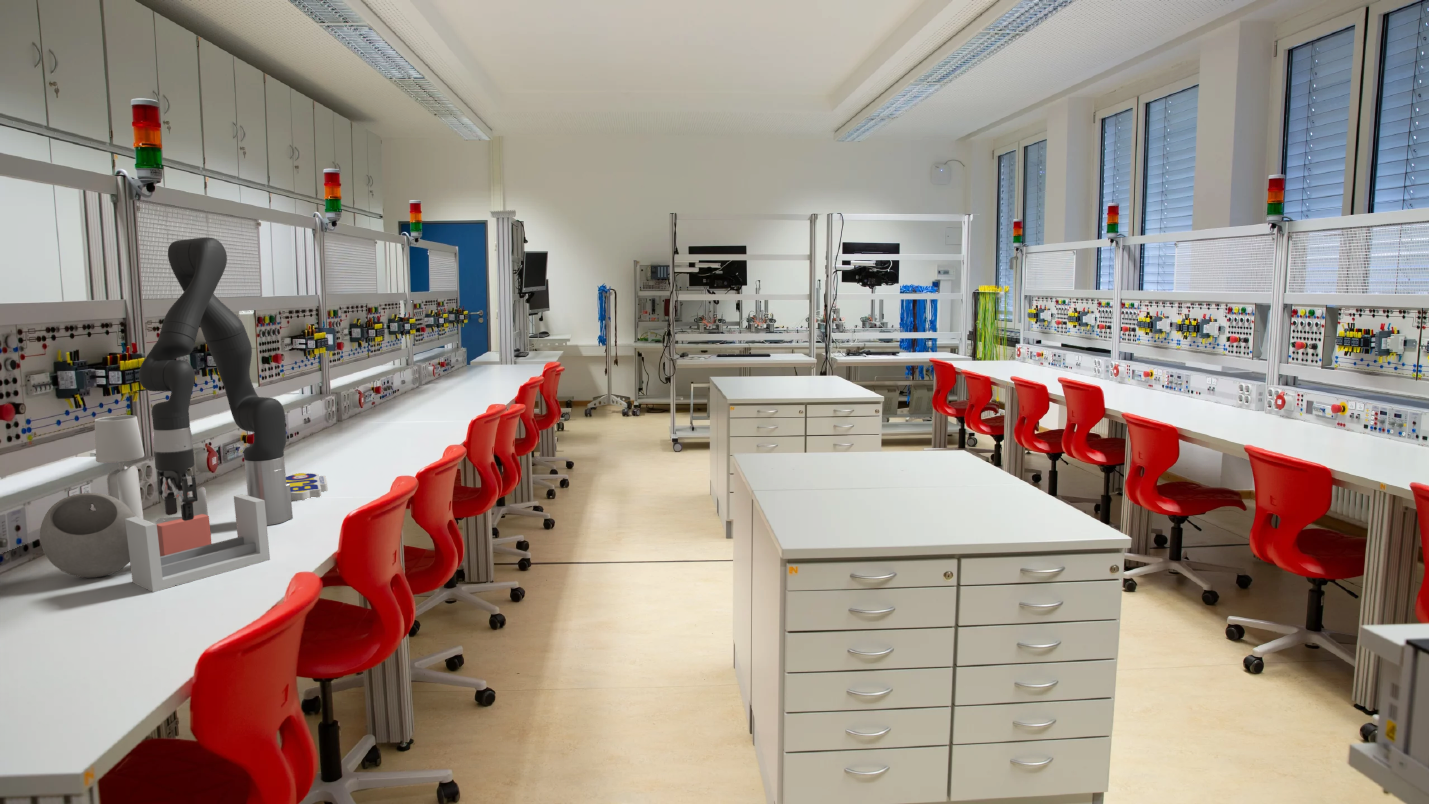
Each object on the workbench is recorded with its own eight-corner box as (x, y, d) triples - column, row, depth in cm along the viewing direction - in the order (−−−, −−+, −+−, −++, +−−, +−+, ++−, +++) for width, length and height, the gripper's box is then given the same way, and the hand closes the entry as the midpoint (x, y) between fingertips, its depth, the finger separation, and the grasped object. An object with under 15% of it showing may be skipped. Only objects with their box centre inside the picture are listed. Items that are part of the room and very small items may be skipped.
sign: (328, 489, 246) (251, 498, 237) (329, 498, 246) (252, 507, 237) (324, 470, 271) (254, 477, 262) (324, 478, 271) (254, 485, 262)
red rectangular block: (206, 550, 199) (202, 513, 197) (212, 552, 197) (208, 515, 196) (159, 562, 191) (155, 524, 189) (165, 565, 189) (161, 526, 187)
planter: (37, 587, 176) (26, 500, 173) (54, 575, 182) (43, 492, 180) (138, 578, 180) (128, 493, 178) (151, 567, 187) (141, 485, 184)
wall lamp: (192, 536, 209) (179, 418, 205) (96, 542, 205) (81, 422, 201) (209, 524, 219) (197, 412, 215) (118, 530, 215) (104, 415, 211)
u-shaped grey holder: (248, 551, 197) (242, 494, 195) (269, 559, 192) (264, 500, 189) (132, 582, 178) (125, 518, 176) (153, 592, 172) (145, 526, 170)
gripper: (205, 448, 189) (211, 518, 191) (177, 442, 197) (183, 509, 199) (168, 453, 183) (175, 525, 185) (141, 446, 191) (148, 515, 193)
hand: (179, 517), depth 192 cm, fingers open, 8 cm apart
